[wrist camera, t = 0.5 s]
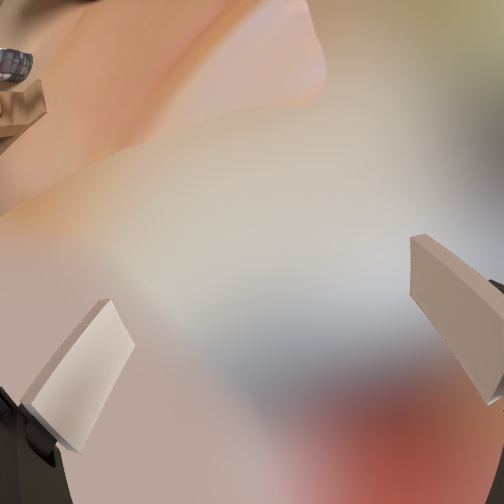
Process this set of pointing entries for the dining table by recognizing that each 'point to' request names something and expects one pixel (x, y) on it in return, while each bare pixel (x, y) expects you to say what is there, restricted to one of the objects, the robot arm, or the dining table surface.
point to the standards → (20, 112)
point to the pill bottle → (14, 65)
